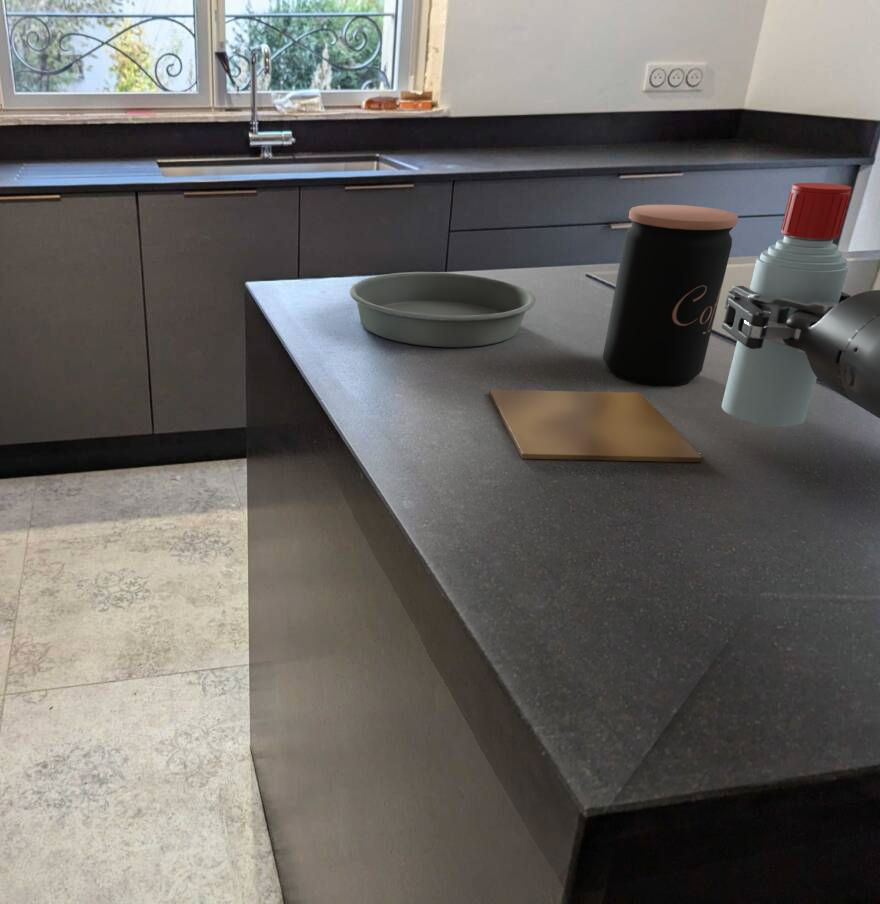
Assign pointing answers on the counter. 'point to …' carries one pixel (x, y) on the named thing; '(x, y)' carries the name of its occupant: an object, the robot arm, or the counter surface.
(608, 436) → the mat
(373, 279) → the cake pan
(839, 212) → the cap
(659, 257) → the coffee jar
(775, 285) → the bottle
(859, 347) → the robot arm
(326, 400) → the counter surface
